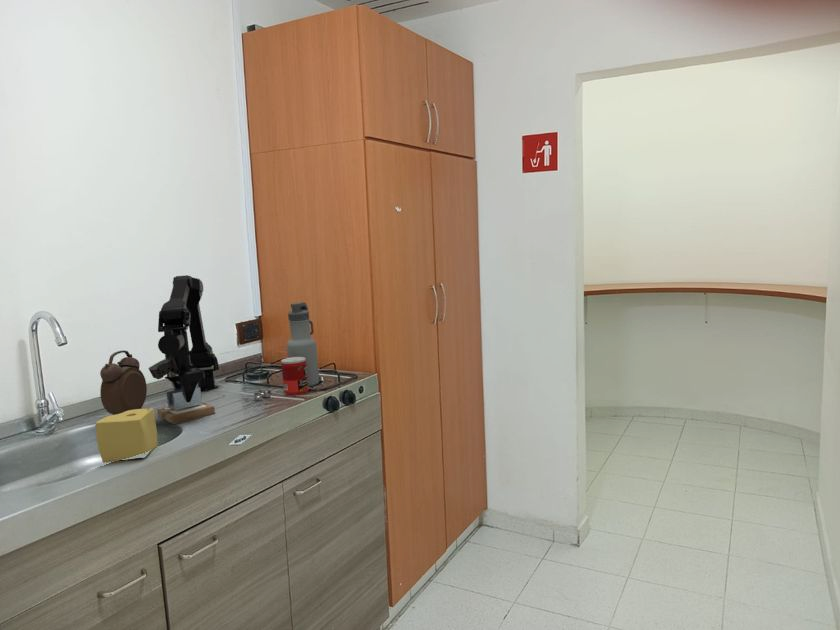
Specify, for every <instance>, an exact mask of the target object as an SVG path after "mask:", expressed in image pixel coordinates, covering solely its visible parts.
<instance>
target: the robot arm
mask: <svg viewBox="0 0 840 630" xmlns="http://www.w3.org/2000/svg"><path fill="white" fill-rule="evenodd" d="M203 293H204V284H203V281H202V279H200V278H197V277H193V276H191V275H176V276H173V279H172V289H171V293H170V296H169V299H168V301H166V302H165V303H163V305H162V307H161V309H160V311H158V323H157V332H158V333H163V335H162V336H161V337H160V338H159V339H158V343H157V348H158V350H159V351H160V352H161V354H164V357H165V358H164V359H162V360H160V361H158V362H157V363H154V364H153V365H151V366H150V367H148V371H149V372H150V375H151V376H152V378H153V379H156V380H161V379H163V378H164V379H165V380H168V381H169V383H171V385H172V387H173V388H174V389H178V388H183V392H184V396H185V399H186V402H191V399H192V396H193V393H194V391H195V388H196V387H200V390H201V392H204V391H207V390H208V391H209V390H212V389H216V388H217V389H218V388H220V385H219V384H216V383H215V382H216V380H215V375H214V372H216V371H219V370H220V364H219V361H218V357H217V356H216V354H215V353H213V352H214V351H213V347H212V346H211V345H210V344H209V343H208V342H207V341H206V335H205V329H204V324H203V319H202V318H203V317H202V313H201V307H200V302H201V300H202V296H203ZM188 328H189V329H188ZM187 330H189V333H190V334H189V335H190V341H191V345H192V346H191V349H190V345H189V339H188V338H189V336H188V332H187ZM164 376H165V377H164ZM174 389H173V390H174Z"/></svg>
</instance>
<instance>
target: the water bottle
mask: <svg viewBox="0 0 840 630" xmlns="http://www.w3.org/2000/svg"><path fill="white" fill-rule="evenodd" d="M290 308H291V310H290V311H289V312H287V317H288V318H287V319H288V322H289V331H290V339H289V340H288V341H287V343H286V350H287V351H286V352H287V353H286V354H287V358H290V357H304V358H305V359H306V367H307V378H308V388H310V387H313V386H316V385H318V384H319V382H320V371H319V362H318V349H317V340H315V339H314V338H312V335H313V334H314V323H313V321H312V320H311V318H310V311H309V308H308V305H307V303H306V302H304V301H302V302H293V303H290Z"/></svg>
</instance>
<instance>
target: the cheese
mask: <svg viewBox="0 0 840 630" xmlns="http://www.w3.org/2000/svg"><path fill="white" fill-rule="evenodd" d="M156 423H157V422H156V416H155V411H154V408H153V407H152V408H141V409H134V410H128V411H125V412H123V413H120V414H116V415H113V414H111V415H108V416H104V417H103V418H101V419H99V420H98V421H97V422H96V423H95V435H96V436H95V438H96V443H97V447H98V451H99V454H100V457H101V460H102V463H113V462H114V463H115V462H120V461H119V460H122V459H126V458H130V457H133V456H136V455H139V454H143V453H144V454H145V452H148V451H150V450H152V449H153V450H155V448H156V447H157V446H158V432H157V431H158V430H157V425H156ZM153 450H152V451H153Z"/></svg>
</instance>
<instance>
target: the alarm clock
mask: <svg viewBox="0 0 840 630" xmlns="http://www.w3.org/2000/svg"><path fill="white" fill-rule="evenodd" d="M122 353H124V354H125V357H123V358H121V359H120V361H117V363H115V362H114V363H113V361H114V357H116V356H117V355H118V354H122ZM140 366H141V364H140V361H139V360H138V359H137V358H135V357H133V354H131V353H130V352H129V351H128V350H118V351H116V352H113V353H112V354H111V355H110V356H109V360H108V363H105V365H104V366H102V368H101V369H100V374H99V376H100V378H101V385H100V394H99V395H100V400H101V404H102V406H103V409H105V411H106V412H107V413H109V414H111V415H116V414H120V413H123V412H125V411H128V410H134V409H143V406H144V404H145V401H146V399H147V392H148V390H147V380H146V377H145V374H144V373H143V372H142V371H141V369H140Z"/></svg>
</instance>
